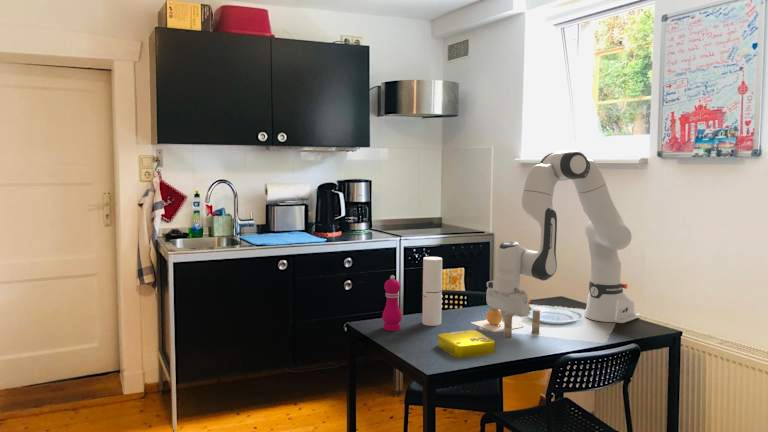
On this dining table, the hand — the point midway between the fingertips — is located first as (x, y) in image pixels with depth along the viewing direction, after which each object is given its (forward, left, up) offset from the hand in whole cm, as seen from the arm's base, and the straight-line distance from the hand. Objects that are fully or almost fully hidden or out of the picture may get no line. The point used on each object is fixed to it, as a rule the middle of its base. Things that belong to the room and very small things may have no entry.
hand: (506, 322), depth 247 cm
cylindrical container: (+20, -20, -2) cm, 28 cm away
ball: (0, -7, +1) cm, 7 cm away
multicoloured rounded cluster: (-21, -17, -3) cm, 27 cm away
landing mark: (0, -6, -2) cm, 6 cm away
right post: (-6, +8, -2) cm, 11 cm away
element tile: (+27, +11, -3) cm, 30 cm away
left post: (+7, +8, -2) cm, 11 cm away
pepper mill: (+37, -21, -2) cm, 42 cm away
